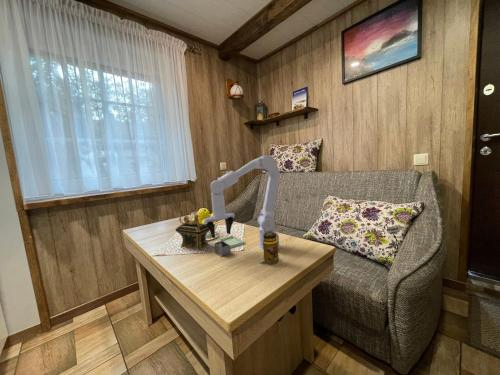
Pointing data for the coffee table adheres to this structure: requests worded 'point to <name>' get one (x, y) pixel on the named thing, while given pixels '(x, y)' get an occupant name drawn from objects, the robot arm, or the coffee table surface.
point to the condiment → (270, 249)
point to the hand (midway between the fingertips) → (221, 235)
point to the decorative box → (193, 233)
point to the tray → (232, 241)
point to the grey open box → (222, 248)
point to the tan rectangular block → (218, 254)
